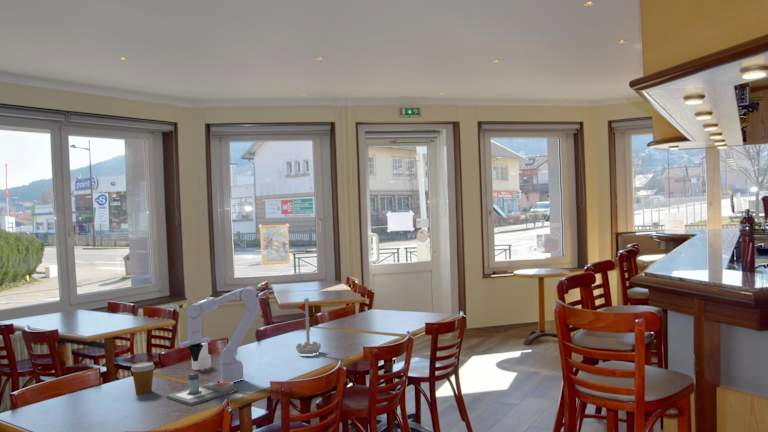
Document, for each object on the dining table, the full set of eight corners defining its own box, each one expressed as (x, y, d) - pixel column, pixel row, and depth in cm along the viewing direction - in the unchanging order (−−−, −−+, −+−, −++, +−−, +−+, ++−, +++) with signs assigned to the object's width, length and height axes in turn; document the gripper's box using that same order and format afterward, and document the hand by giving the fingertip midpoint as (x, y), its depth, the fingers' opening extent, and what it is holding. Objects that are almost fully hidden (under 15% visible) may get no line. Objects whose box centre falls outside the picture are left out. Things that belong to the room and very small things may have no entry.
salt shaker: (195, 390, 247) (195, 372, 247) (201, 392, 245) (200, 373, 245) (187, 393, 244) (186, 374, 244) (192, 395, 242) (191, 375, 242)
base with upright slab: (205, 370, 285) (204, 346, 285) (188, 370, 287) (187, 346, 287) (214, 365, 294) (213, 342, 294) (197, 365, 296) (196, 342, 296)
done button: (224, 387, 251) (224, 380, 251) (229, 388, 249) (229, 382, 249) (216, 389, 248) (216, 383, 248) (221, 391, 246) (221, 384, 246)
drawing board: (212, 384, 261) (212, 377, 261) (236, 391, 249) (236, 383, 249) (166, 398, 244) (166, 389, 244) (190, 405, 232) (190, 397, 232)
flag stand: (323, 351, 317) (321, 295, 316) (318, 357, 304) (315, 299, 304) (299, 351, 318) (297, 296, 318) (293, 357, 305) (291, 300, 305)
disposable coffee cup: (132, 390, 256) (131, 363, 256) (155, 387, 260) (154, 360, 260) (131, 396, 248) (130, 368, 248) (155, 393, 251) (154, 365, 251)
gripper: (203, 327, 271) (204, 356, 271) (175, 332, 260) (175, 362, 260) (212, 328, 266) (213, 358, 266) (184, 334, 255) (184, 365, 255)
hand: (195, 360), depth 263 cm, fingers closed
